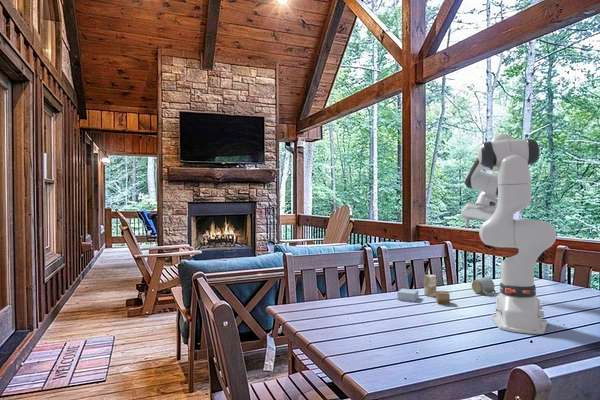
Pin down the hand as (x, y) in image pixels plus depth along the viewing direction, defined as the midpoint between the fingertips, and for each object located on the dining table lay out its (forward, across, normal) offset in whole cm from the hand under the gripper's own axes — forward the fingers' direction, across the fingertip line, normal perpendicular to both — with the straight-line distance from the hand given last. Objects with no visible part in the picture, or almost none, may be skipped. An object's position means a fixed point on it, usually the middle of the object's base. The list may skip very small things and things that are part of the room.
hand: (474, 228), depth 192 cm
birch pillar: (+41, -4, -7) cm, 42 cm away
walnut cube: (+43, +9, -13) cm, 45 cm away
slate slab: (+48, -6, -18) cm, 51 cm away
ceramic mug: (+28, +10, +14) cm, 33 cm away
